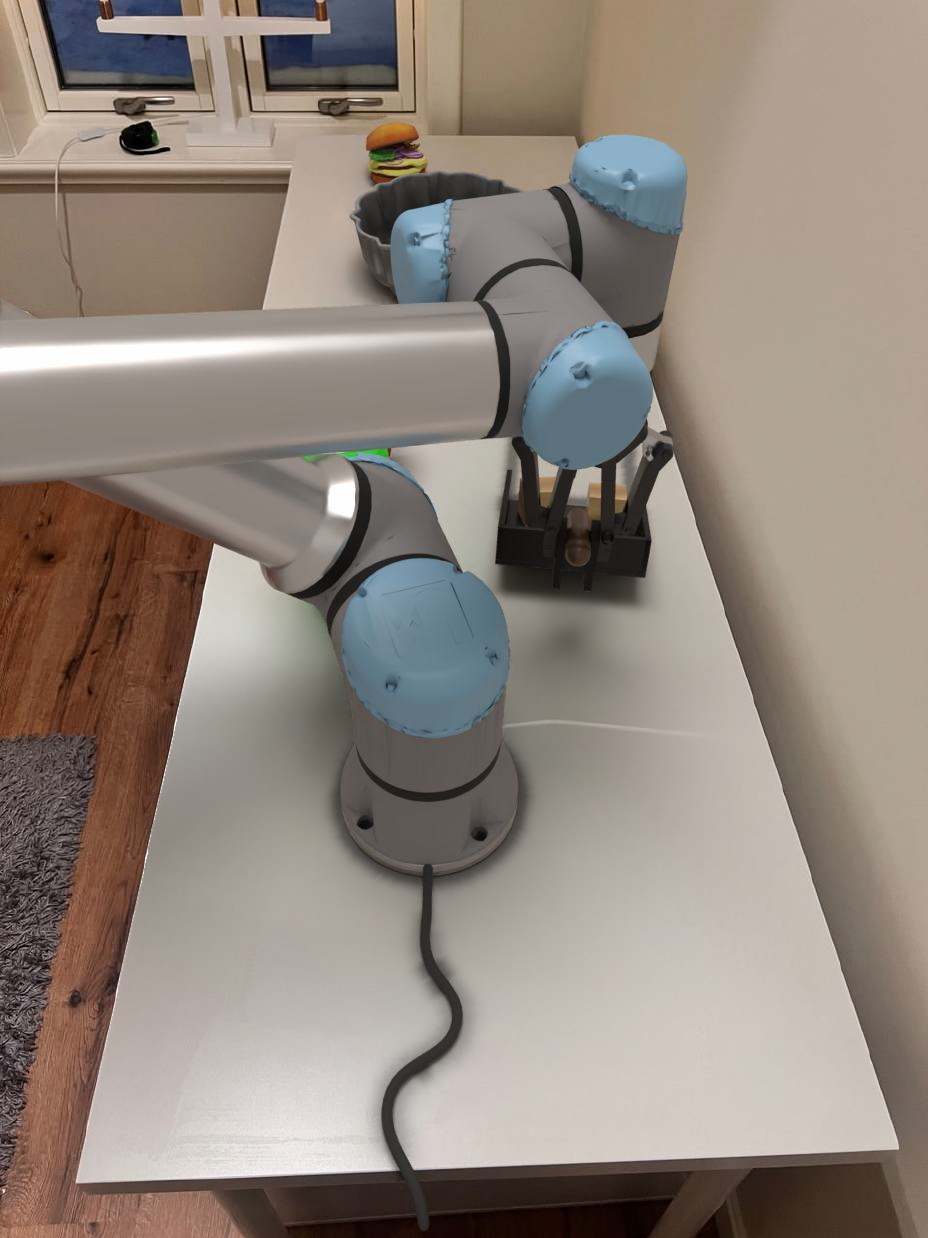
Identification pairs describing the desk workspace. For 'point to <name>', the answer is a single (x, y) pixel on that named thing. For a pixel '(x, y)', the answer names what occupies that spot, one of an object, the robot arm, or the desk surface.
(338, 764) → the desk surface
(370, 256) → the bundt pan
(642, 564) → the pan
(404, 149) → the cheeseburger
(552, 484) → the block
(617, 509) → the block
